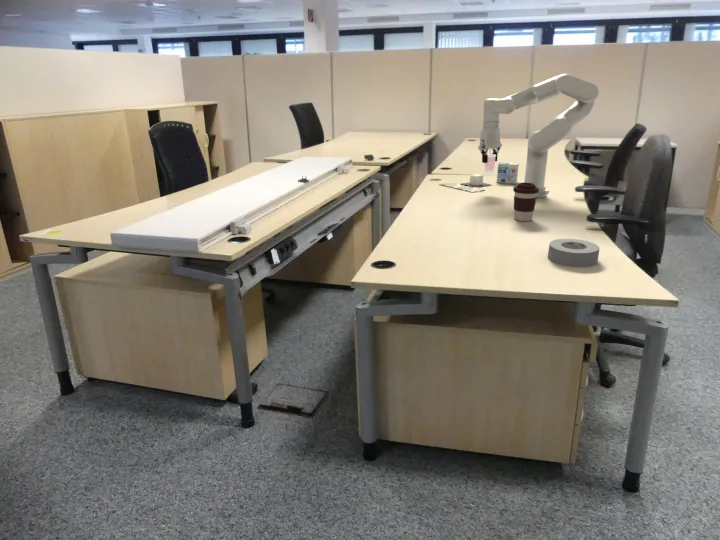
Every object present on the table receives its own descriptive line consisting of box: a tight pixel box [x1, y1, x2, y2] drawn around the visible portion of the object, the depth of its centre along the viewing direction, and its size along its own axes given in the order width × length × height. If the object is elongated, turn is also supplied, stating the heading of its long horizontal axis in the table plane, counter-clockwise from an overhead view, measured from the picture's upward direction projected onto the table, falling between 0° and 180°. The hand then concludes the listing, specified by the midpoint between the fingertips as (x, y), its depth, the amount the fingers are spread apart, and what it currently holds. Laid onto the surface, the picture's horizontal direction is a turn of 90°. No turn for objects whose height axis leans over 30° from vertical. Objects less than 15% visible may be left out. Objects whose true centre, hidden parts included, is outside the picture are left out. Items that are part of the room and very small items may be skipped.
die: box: [469, 173, 484, 185], centre depth 294 cm, size 5×5×5 cm
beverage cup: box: [483, 149, 496, 175], centre depth 267 cm, size 6×6×14 cm
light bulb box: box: [496, 161, 520, 185], centre depth 300 cm, size 11×7×11 cm, turn 68°
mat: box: [461, 181, 492, 188], centre depth 295 cm, size 12×12×1 cm
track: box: [438, 182, 484, 193], centre depth 288 cm, size 26×9×1 cm, turn 33°
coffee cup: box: [512, 182, 539, 222], centre depth 221 cm, size 10×10×15 cm
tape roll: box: [547, 238, 600, 268], centre depth 174 cm, size 15×15×5 cm
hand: (489, 161), depth 268 cm, fingers closed on beverage cup, 6 cm apart
